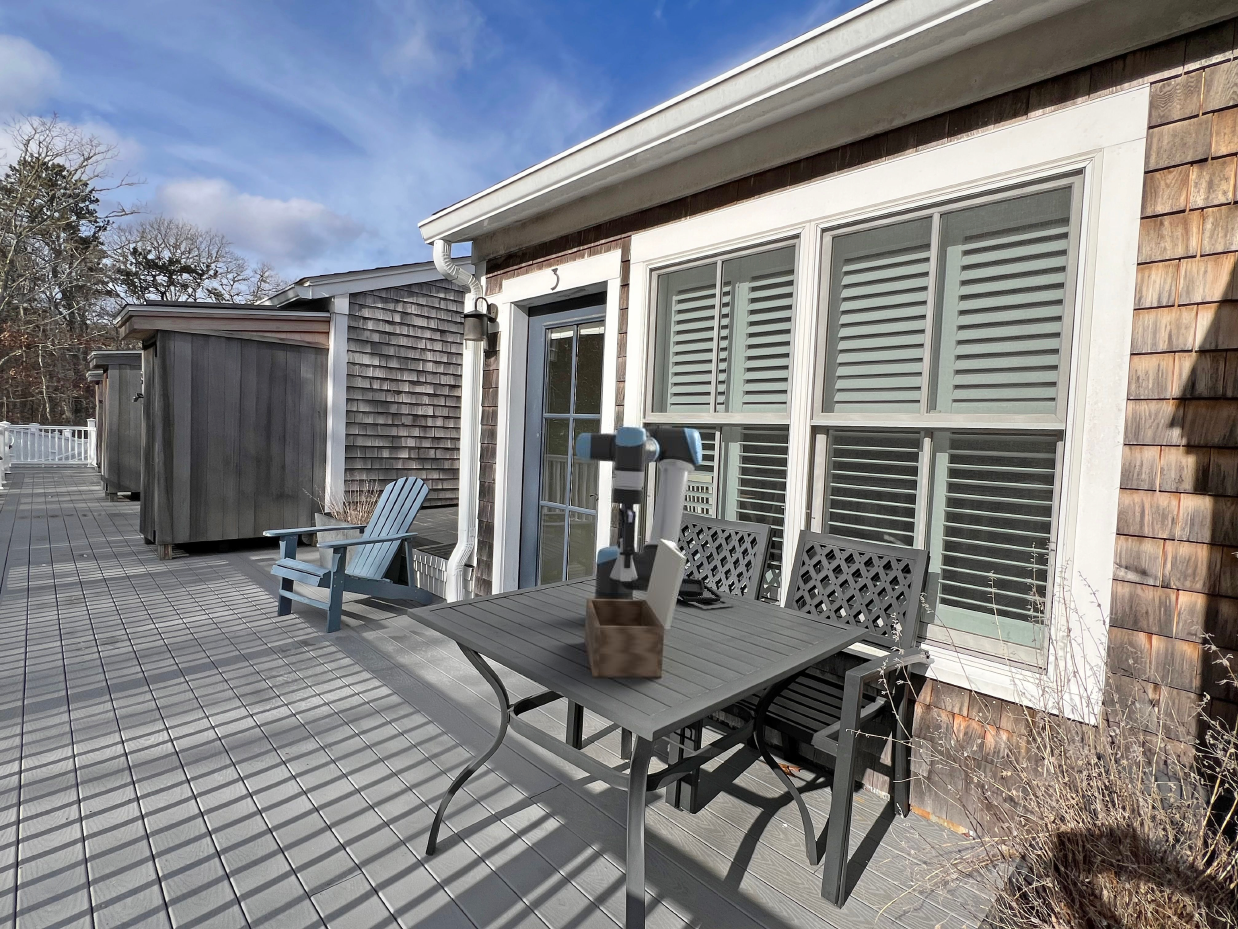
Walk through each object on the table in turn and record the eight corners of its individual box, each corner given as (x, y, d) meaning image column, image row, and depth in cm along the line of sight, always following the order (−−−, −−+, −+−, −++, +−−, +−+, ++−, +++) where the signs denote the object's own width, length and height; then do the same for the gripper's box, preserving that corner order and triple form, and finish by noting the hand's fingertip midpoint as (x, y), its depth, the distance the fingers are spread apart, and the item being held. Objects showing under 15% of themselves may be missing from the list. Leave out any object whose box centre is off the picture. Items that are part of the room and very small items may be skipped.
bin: (643, 642, 181) (645, 600, 180) (661, 677, 155) (664, 628, 154) (584, 642, 179) (586, 598, 178) (592, 677, 153) (595, 627, 152)
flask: (608, 575, 169) (610, 536, 169) (636, 576, 170) (638, 538, 170) (610, 581, 162) (612, 541, 162) (639, 582, 163) (641, 542, 162)
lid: (645, 599, 181) (649, 600, 181) (664, 628, 154) (669, 629, 154) (659, 538, 181) (663, 539, 181) (681, 557, 153) (686, 558, 154)
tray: (745, 605, 229) (746, 591, 229) (700, 614, 214) (700, 599, 214) (684, 588, 252) (684, 575, 252) (639, 595, 237) (640, 581, 237)
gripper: (609, 484, 175) (605, 568, 176) (618, 490, 155) (613, 586, 156) (637, 485, 176) (632, 569, 176) (649, 491, 156) (644, 586, 157)
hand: (623, 577), depth 166 cm, fingers closed on flask, 7 cm apart
